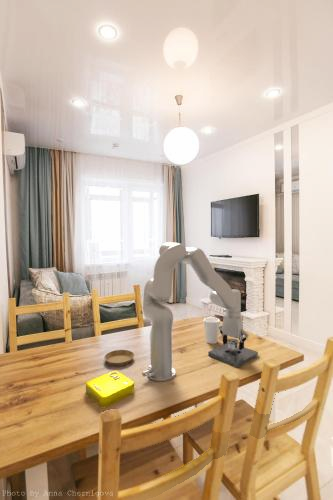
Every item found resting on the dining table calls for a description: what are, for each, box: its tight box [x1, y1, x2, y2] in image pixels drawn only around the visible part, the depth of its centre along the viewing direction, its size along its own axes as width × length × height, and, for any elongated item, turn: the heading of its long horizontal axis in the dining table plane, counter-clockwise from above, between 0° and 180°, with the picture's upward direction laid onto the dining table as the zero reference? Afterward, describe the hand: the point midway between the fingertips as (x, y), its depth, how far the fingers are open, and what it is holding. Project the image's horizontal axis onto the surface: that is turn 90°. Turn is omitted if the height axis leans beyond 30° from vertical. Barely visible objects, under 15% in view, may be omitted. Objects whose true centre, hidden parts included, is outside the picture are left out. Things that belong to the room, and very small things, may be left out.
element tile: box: [85, 369, 135, 409], centre depth 106 cm, size 15×15×5 cm
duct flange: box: [207, 341, 259, 368], centre depth 137 cm, size 18×18×2 cm
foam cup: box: [203, 316, 221, 345], centre depth 155 cm, size 10×9×13 cm
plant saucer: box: [104, 349, 135, 367], centre depth 133 cm, size 15×15×3 cm
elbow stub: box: [227, 338, 239, 356], centre depth 136 cm, size 5×5×8 cm
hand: (233, 346), depth 136 cm, fingers open, 9 cm apart
